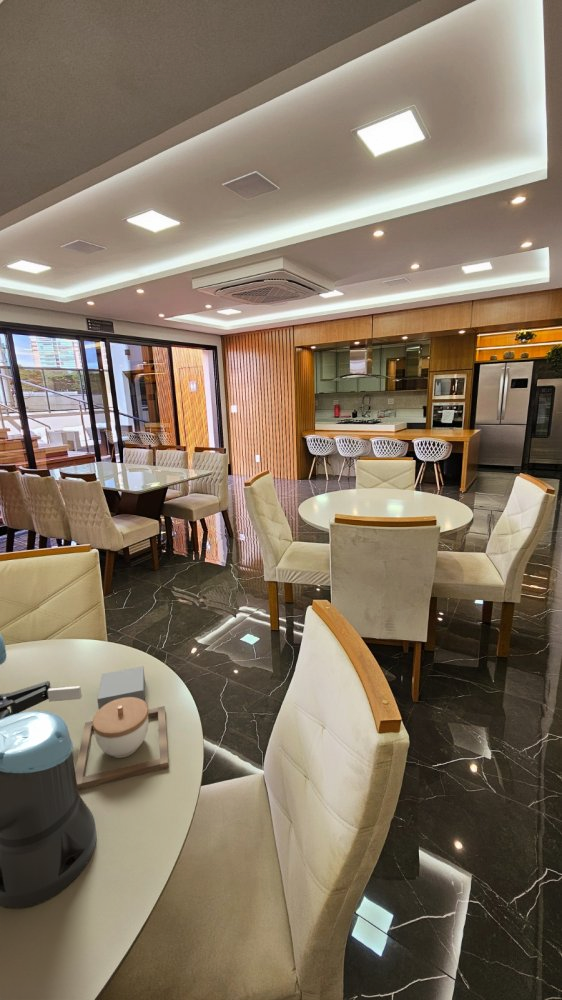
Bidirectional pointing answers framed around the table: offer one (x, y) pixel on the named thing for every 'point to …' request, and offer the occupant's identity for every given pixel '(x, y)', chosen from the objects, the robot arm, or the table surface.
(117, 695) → the gray stand
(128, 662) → the table surface
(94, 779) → the walnut collar
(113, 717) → the lidded jar
